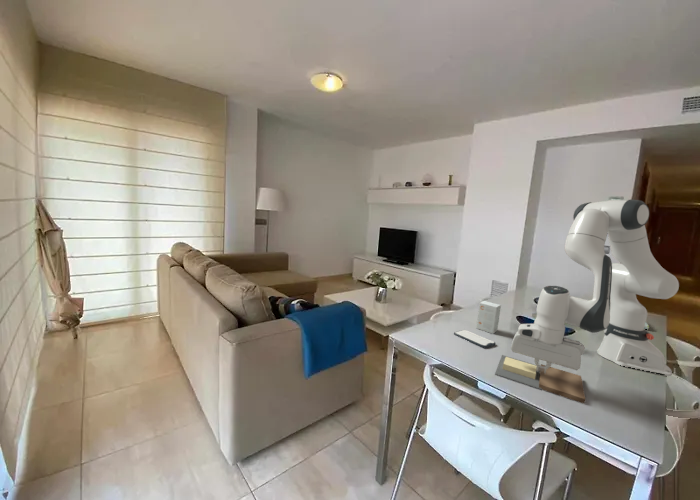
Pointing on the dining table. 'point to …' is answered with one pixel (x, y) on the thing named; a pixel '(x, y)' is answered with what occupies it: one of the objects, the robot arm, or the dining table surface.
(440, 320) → the dining table surface
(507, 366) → the tile
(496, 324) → the small box
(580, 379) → the brown flat block
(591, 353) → the dining table surface
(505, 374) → the mat
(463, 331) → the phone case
